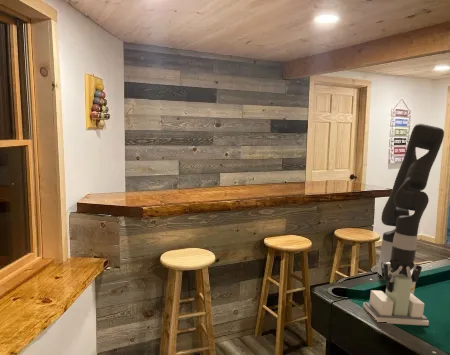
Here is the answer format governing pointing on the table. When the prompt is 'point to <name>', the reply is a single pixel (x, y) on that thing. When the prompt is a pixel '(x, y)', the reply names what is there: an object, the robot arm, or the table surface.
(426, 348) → the table surface
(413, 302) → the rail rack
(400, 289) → the block
